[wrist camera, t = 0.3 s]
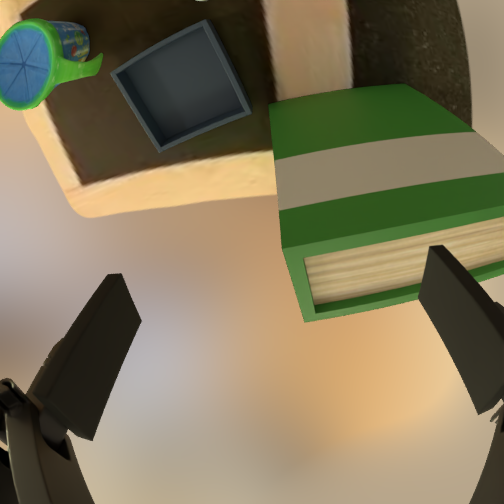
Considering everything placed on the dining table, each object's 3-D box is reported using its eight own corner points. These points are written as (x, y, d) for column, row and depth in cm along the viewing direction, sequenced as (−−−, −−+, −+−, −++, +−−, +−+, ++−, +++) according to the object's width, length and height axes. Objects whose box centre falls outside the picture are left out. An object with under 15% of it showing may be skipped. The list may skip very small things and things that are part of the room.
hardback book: (404, 83, 27) (543, 197, 10) (408, 134, 32) (512, 271, 15) (268, 104, 30) (281, 248, 14) (283, 155, 36) (304, 322, 19)
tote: (210, 19, 23) (205, 18, 21) (252, 106, 31) (252, 113, 29) (120, 68, 26) (109, 73, 24) (165, 142, 34) (159, 153, 32)
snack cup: (133, 27, 22) (89, 34, 15) (101, 99, 29) (58, 130, 22) (43, 3, 16) (-10, 14, 9) (22, 69, 23) (-26, 95, 16)
